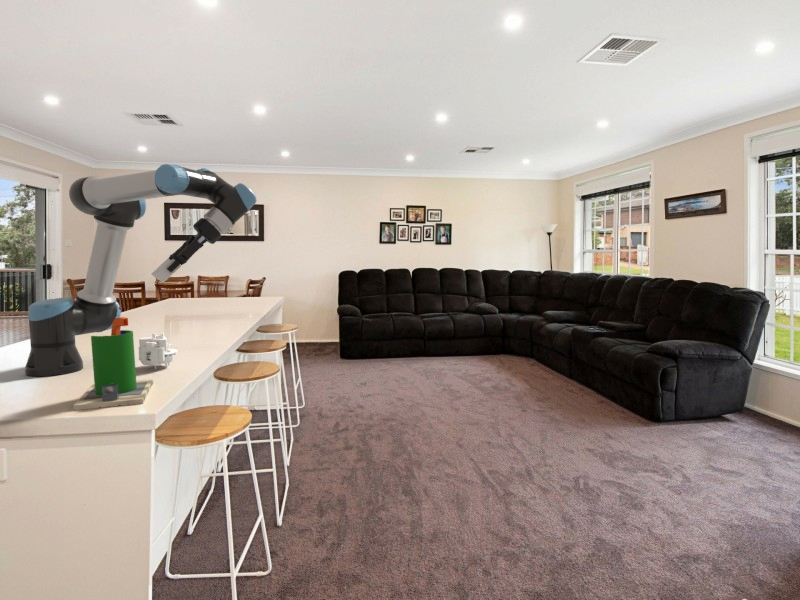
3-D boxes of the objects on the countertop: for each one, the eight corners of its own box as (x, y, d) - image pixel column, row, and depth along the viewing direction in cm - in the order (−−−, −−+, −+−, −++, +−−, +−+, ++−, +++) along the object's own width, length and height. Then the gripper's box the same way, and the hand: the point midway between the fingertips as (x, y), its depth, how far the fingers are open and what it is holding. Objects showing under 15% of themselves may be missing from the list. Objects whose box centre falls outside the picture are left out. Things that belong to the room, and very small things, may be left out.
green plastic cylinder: (110, 384, 130) (106, 314, 128) (143, 384, 131) (139, 314, 129) (89, 395, 120) (85, 320, 118) (125, 394, 121) (122, 319, 119)
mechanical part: (184, 363, 162) (183, 330, 161) (164, 372, 150) (162, 336, 149) (154, 362, 163) (153, 329, 162) (131, 371, 151) (130, 335, 150)
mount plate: (94, 387, 133) (94, 382, 132) (153, 382, 138) (153, 377, 138) (73, 410, 113) (73, 404, 113) (143, 403, 119) (142, 398, 119)
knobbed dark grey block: (105, 397, 119) (104, 383, 119) (119, 396, 120) (118, 382, 120) (102, 401, 116) (101, 386, 116) (117, 400, 117) (116, 385, 117)
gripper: (231, 234, 126) (172, 290, 119) (214, 236, 147) (163, 284, 140) (209, 213, 122) (148, 270, 116) (195, 219, 144) (143, 267, 137)
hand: (156, 278), depth 128 cm, fingers open, 13 cm apart
